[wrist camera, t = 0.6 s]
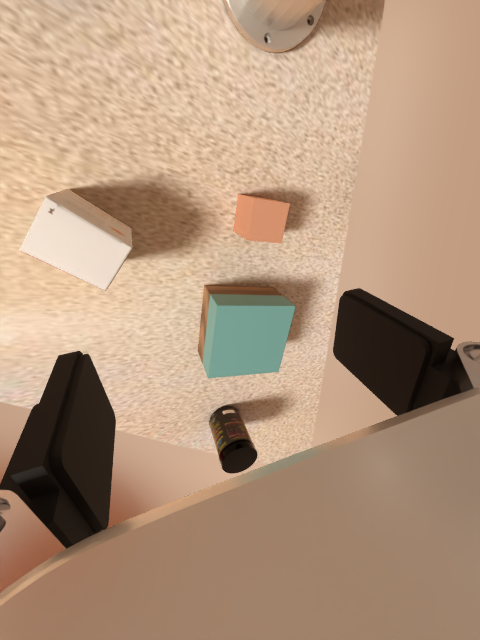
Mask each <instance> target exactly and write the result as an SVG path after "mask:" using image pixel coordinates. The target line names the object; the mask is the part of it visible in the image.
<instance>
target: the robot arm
mask: <svg viewBox="0 0 480 640" xmlns="http://www.w3.org/2000/svg"><path fill="white" fill-rule="evenodd" d="M223 1H224V4H225V7H226V9H227V11H228V13H229V16H230V18H231V20H232V21H233V23H234V24H235V26H236V28H237V29H238V31H239V32H240V33H241V34H242V35H243V36H244V37H245V39H246V40H247V41H249V42H250V43H251V44H253V45H254V46H255V47H257V48H259V49H262V50H264V51H267V52H273V53H277V52H285V51H287V50H289V49H292V48H294V47H295V46H296V45H298V44H299V43H301V42H302V41H303V40H304V39H305V38H306V37H307V36H308V35H309V34H310V33H311V31H312V30H313V29H314V27H315V26H316V24H317V22H318V20H319V18H320V16H321V14H322V12H323V9H324V6H325V3H326V0H223ZM307 22H308V23H307ZM264 38H265V39H266V42H265V40H264ZM453 340H454V338H452V337H450V336H449V335H447V334H445V333H443V332H441V331H439V330H437V329H435V328H433V327H432V326H429V325H428V324H426V323H424V322H422V321H420V320H418V319H417V318H415V317H413V316H411V315H409V314H407V313H405V312H403V311H401V310H400V309H398V308H396V307H394V306H392V305H390V304H388V303H387V302H385V301H383V300H381V299H379V298H377V297H375V296H373V295H371V294H370V293H368V292H366V291H364V290H362V289H353V290H349V291H345V292H344V293H343V296H341V298H340V301H339V309H338V316H337V324H336V332H335V340H334V347H333V353H334V355H335V357H336V359H337V360H339V361H340V362H341V363H342V364H343V365H344V366H345V367H346V368H347V369H348V370H349V371H350V372H351V373H352V374H353V375H355V377H356V378H358V379H359V380H360V381H361V382H362V383H363V384H364V385H365V386H366V387H367V388H368V389H369V390H370V391H372V392H373V394H375V395H376V396H377V397H378V398H379V399H380V400H381V401H382V402H383V403H384V404H385V405H386V406H387V407H388V408H390V409H391V410H392V411H393V412H394V413H395V414H396V415H397V416H396V417H394V418H391V419H388V420H385V421H383V422H380V423H377V424H375V425H372V426H369V427H367V428H364V429H362V430H359V431H356V432H353V433H351V434H348V435H345V436H343V437H340V438H337V439H335V440H332V441H330V442H327V443H324V444H321V445H319V446H316V447H314V448H311V449H308V450H305V451H303V452H300V453H297V454H295V455H292V456H289V457H287V458H284V459H282V460H279V461H276V462H274V463H271V464H268V465H266V466H264V467H261V468H258V469H255V470H253V471H250V472H248V473H245V474H242V475H240V476H237V477H235V478H232V479H229V480H227V481H224V482H221V483H219V484H216V485H213V486H211V487H208V488H206V489H203V490H200V491H198V492H195V493H193V494H190V495H188V496H185V497H183V498H180V499H178V500H175V501H173V502H170V503H168V504H165V505H163V506H160V507H158V508H155V509H153V510H150V511H148V512H145V513H143V514H140V515H138V516H135V517H133V518H130V519H128V520H126V521H123V522H121V523H119V524H117V525H114V526H112V527H110V528H108V529H107V527H108V521H109V508H110V495H111V480H112V466H113V452H114V439H115V438H114V437H115V425H116V420H115V414H114V411H113V409H112V406H111V404H110V402H109V400H108V397H107V395H106V393H105V390H104V388H103V386H102V383H101V381H100V379H99V376H98V374H97V372H96V369H95V367H94V365H93V362H92V360H91V358H90V356H89V354H84V355H83V354H82V353H81V352H80V351H77V352H72V353H68V354H63V355H59V356H58V358H57V360H56V363H55V365H54V368H53V370H52V373H51V375H50V378H49V380H48V383H47V385H46V388H45V390H44V393H43V395H42V398H41V400H40V403H39V404H36V405H35V406H34V407H33V409H32V410H31V413H30V415H29V417H28V420H27V422H26V425H25V427H24V429H23V431H22V434H21V436H20V439H19V441H18V443H17V446H16V448H15V450H14V453H13V455H12V458H11V460H10V462H9V465H8V467H7V470H6V472H5V474H4V476H3V479H2V482H1V484H0V640H480V342H463V343H461V344H459V345H458V346H457V348H456V350H455V351H454V350H452V349H451V345H452V342H453ZM102 530H103V531H102Z"/></svg>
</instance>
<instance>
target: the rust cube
mask: <svg viewBox="0 0 480 640" xmlns="http://www.w3.org/2000/svg"><path fill="white" fill-rule="evenodd" d="M289 206H290V203H285V202H281V201H276V200H272V199H266V198H260V197H254V196H247V195H241V194H238V200H237V208H236V215H235V222H234V230H233V231H234V232H235V233H237V234H239V235H240V236H242V237H243V238H245V239H246V240H253V241H263V242H273V243H282V239H283V234H284V229H285V225H286V220H287V215H288V211H289Z"/></svg>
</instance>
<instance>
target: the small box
mask: <svg viewBox="0 0 480 640" xmlns="http://www.w3.org/2000/svg"><path fill="white" fill-rule="evenodd" d="M132 248H133V245H132V228H130V227H128V226H127V225H125V224H124V223H122V222H120V221H119V220H117V219H116V218H114V217H112V216H111V215H109V214H107V213H106V212H104V211H103V210H101V209H99V208H98V207H96V206H95V205H93V204H91V203H90V202H88V201H86V200H85V199H83V198H82V197H80V196H78V195H77V194H75V193H74V192H72V191H71V190H69V189H66V190H63V191H60V192H57V193H54V194H51V195H48V196H46V197H45V198H44V200H43V203H42V205H41V207H40V209H39V211H38V213H37V215H36V217H35V219H34V221H33V223H32V225H31V227H30V229H29V231H28V233H27V235H26V237H25V239H24V241H23V243H22V245H21V247H20V251H21V252H24V253H26V254H28V255H30V256H32V257H34V258H36V259H39V260H41V261H43V262H45V263H47V264H49V265H51V266H53V267H56V268H58V269H60V270H62V271H64V272H66V273H69V274H71V275H73V276H75V277H77V278H79V279H81V280H83V281H86V282H88V283H90V284H92V285H94V286H96V287H98V288H100V289H102V290H104V291H106V290H107V289H108V287H109V285H110V284H111V282H112V281H113V279H114V277H115V276H116V274H117V273H118V271H119V269H120V268H121V266H122V265H123V263H124V261H125V260H126V258H127V256H128V255H129V253H130V251H131V250H132Z"/></svg>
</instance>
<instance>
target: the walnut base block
mask: <svg viewBox="0 0 480 640" xmlns="http://www.w3.org/2000/svg"><path fill="white" fill-rule="evenodd" d="M210 294H230V295H278V296H283V295H282V294H280V293H279V292H278V291H277V290H276V289H275V288H273V287H244V286H213V285H204V294H203V304H202V314H201V324H200V334H199V344H198V352H199V355H200V358H201V361H202V363H203V354H204V345H205V336H206V327H207V318H208V309H209V301H210Z"/></svg>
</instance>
